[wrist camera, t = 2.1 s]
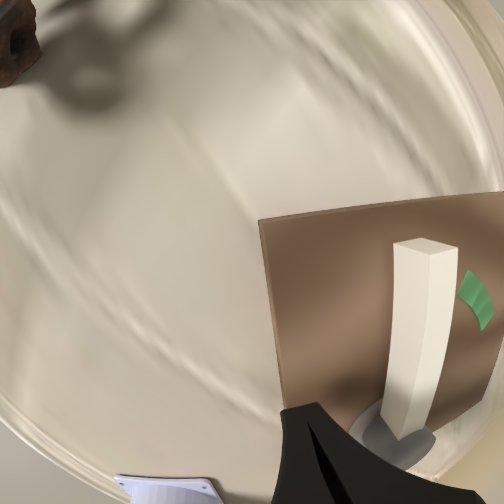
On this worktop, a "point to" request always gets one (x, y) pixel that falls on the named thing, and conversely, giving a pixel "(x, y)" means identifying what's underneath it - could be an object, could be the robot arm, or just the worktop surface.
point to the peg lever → (414, 350)
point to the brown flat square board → (380, 302)
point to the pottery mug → (17, 39)
